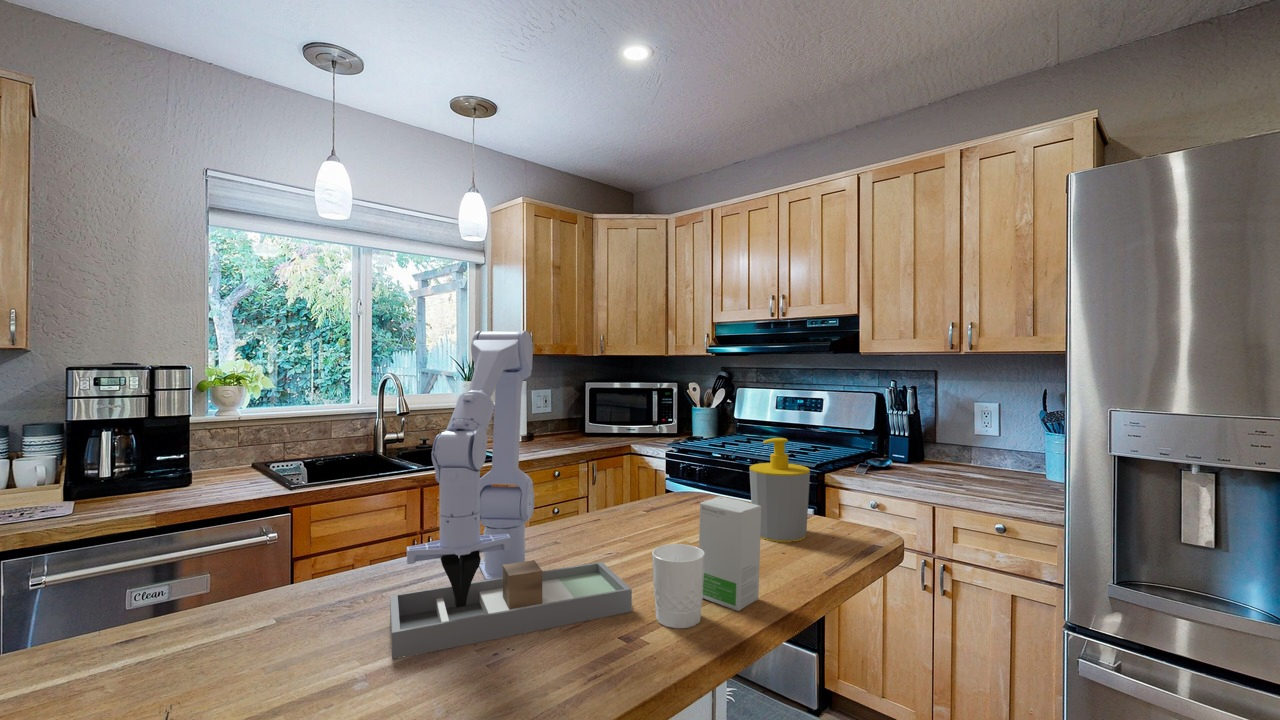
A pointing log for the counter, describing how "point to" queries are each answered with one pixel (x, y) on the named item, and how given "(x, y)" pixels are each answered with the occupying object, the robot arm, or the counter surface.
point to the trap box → (503, 609)
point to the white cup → (678, 584)
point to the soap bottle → (781, 495)
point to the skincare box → (730, 551)
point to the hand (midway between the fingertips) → (460, 604)
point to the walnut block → (522, 584)
